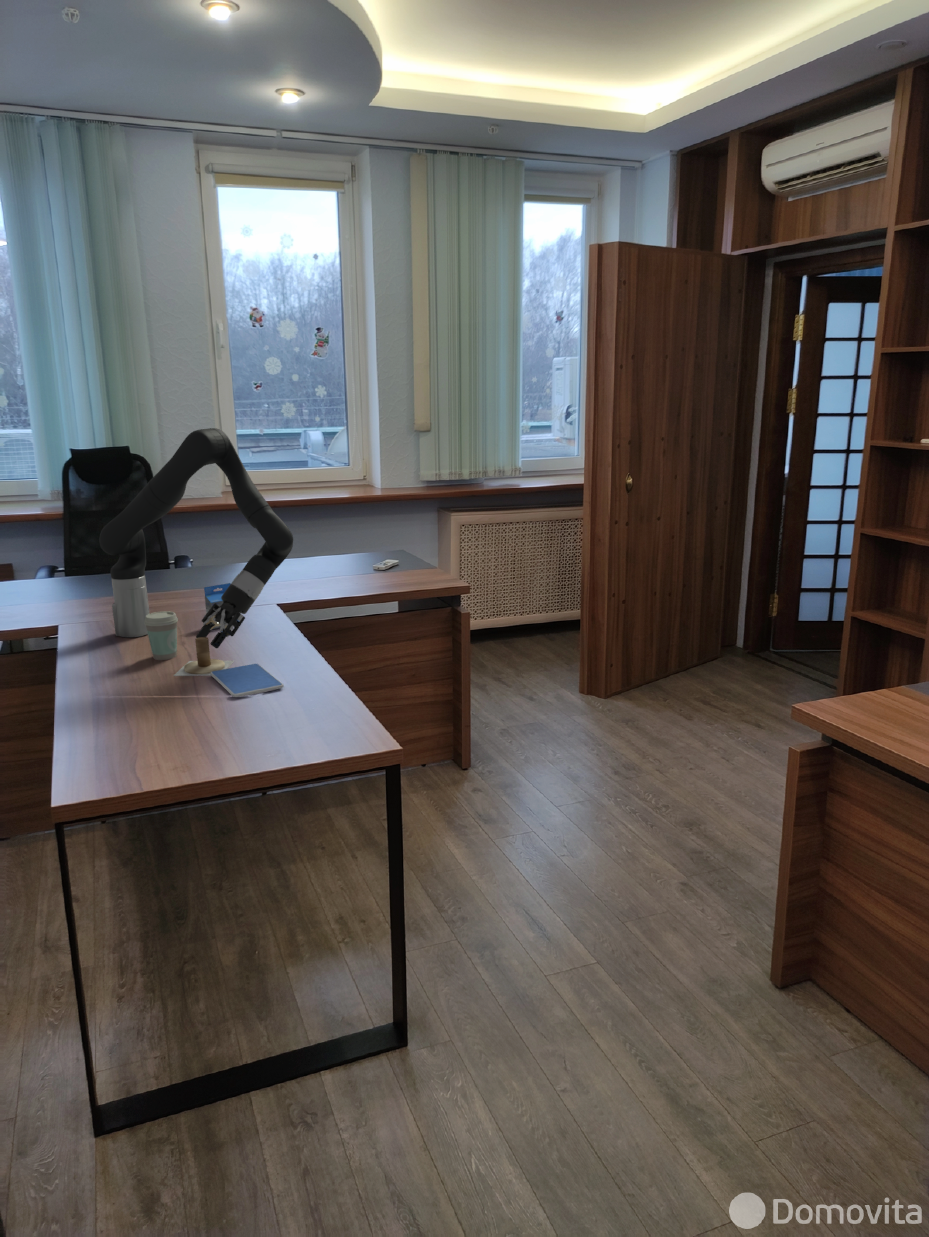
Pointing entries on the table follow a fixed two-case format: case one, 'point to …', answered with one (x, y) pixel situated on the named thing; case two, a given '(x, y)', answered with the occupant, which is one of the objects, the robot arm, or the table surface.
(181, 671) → the coaster
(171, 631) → the coffee cup
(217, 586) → the ink cartridge box
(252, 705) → the table surface
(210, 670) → the lid
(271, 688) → the tablet computer
